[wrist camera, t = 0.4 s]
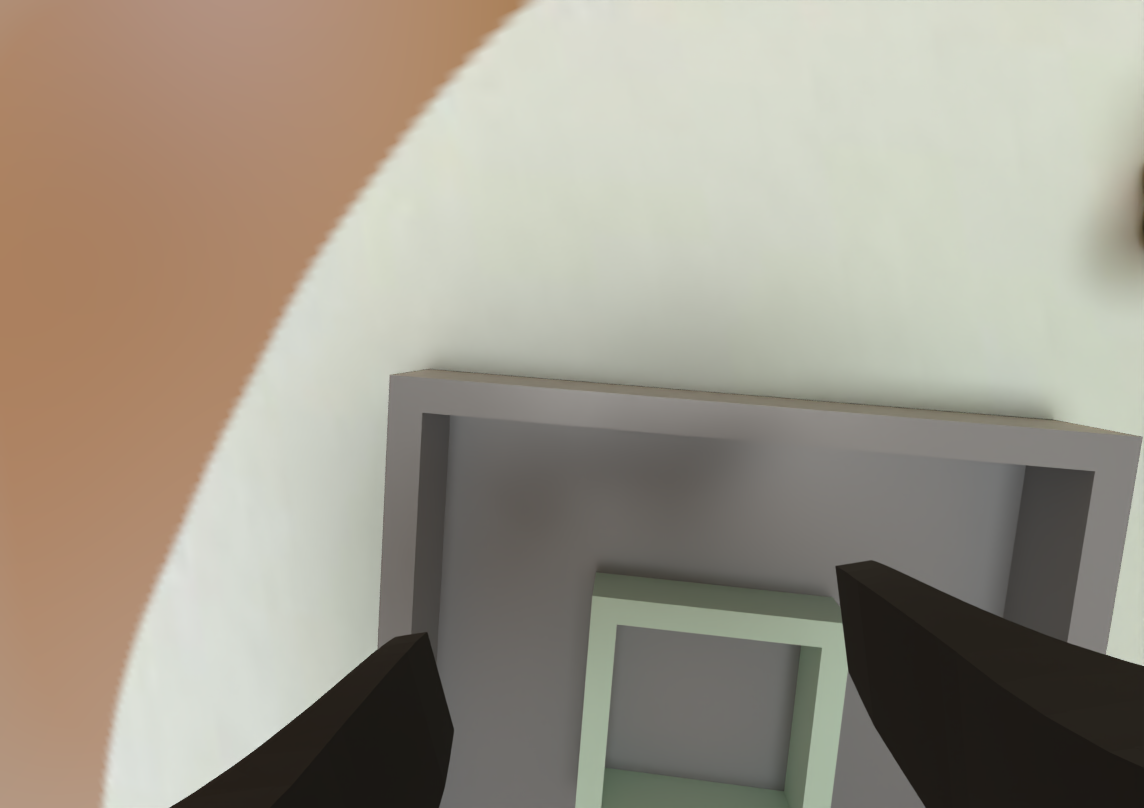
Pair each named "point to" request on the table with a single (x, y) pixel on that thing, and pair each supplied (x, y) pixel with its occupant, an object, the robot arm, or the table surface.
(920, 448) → the walled box
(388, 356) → the table surface
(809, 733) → the inlet socket
